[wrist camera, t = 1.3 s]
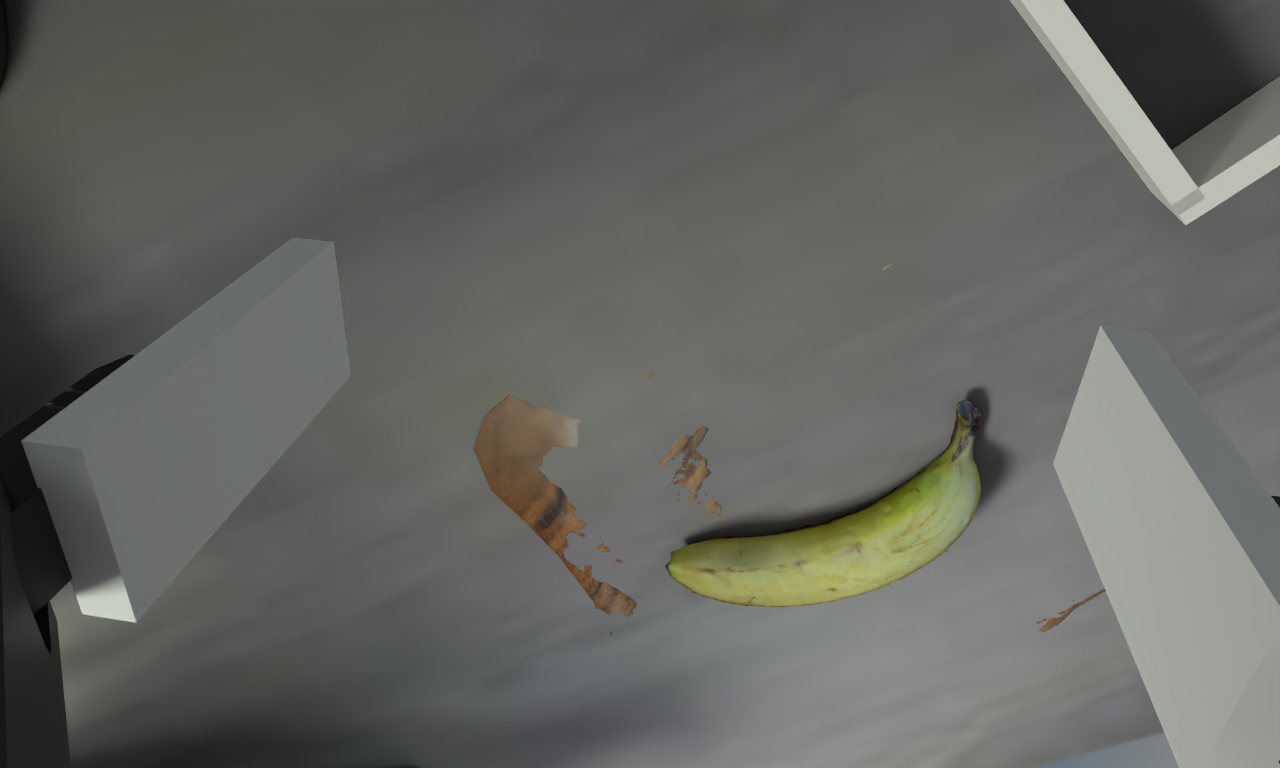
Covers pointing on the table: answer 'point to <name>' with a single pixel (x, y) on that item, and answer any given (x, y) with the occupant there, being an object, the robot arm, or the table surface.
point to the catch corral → (1180, 178)
